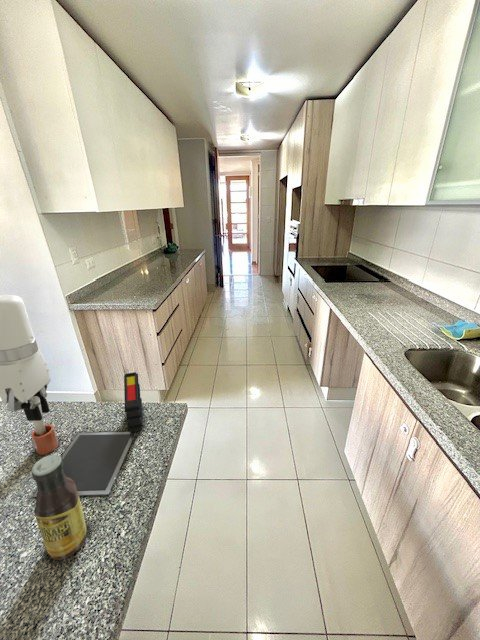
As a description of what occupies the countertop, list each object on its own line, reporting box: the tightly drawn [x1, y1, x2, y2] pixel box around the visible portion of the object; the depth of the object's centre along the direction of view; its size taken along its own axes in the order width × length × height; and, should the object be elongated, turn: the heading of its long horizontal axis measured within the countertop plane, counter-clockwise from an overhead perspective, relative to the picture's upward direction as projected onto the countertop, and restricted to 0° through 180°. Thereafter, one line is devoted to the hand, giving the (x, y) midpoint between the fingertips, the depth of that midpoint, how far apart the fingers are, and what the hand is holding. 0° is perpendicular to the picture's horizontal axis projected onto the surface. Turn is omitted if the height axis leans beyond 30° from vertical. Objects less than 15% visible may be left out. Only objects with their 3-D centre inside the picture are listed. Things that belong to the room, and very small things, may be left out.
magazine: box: [123, 371, 144, 432], centre depth 76 cm, size 4×13×15 cm, turn 21°
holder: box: [31, 423, 59, 455], centre depth 67 cm, size 5×5×6 cm
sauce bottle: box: [31, 454, 87, 561], centre depth 45 cm, size 7×6×20 cm
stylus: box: [33, 396, 46, 437], centre depth 65 cm, size 2×2×14 cm
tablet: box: [32, 431, 137, 498], centre depth 64 cm, size 16×18×1 cm
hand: (39, 415), depth 65 cm, fingers closed on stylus, 2 cm apart
